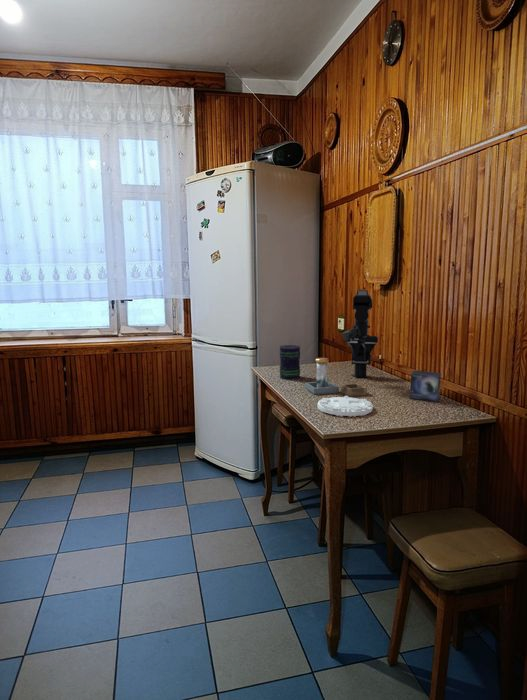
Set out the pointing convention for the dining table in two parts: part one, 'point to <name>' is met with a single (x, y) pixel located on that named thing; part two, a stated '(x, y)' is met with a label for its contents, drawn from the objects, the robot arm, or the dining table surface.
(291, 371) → the storage jar
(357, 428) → the dining table surface
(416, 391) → the small box
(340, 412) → the giant coin
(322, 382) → the pin
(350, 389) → the socket block
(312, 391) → the tray
